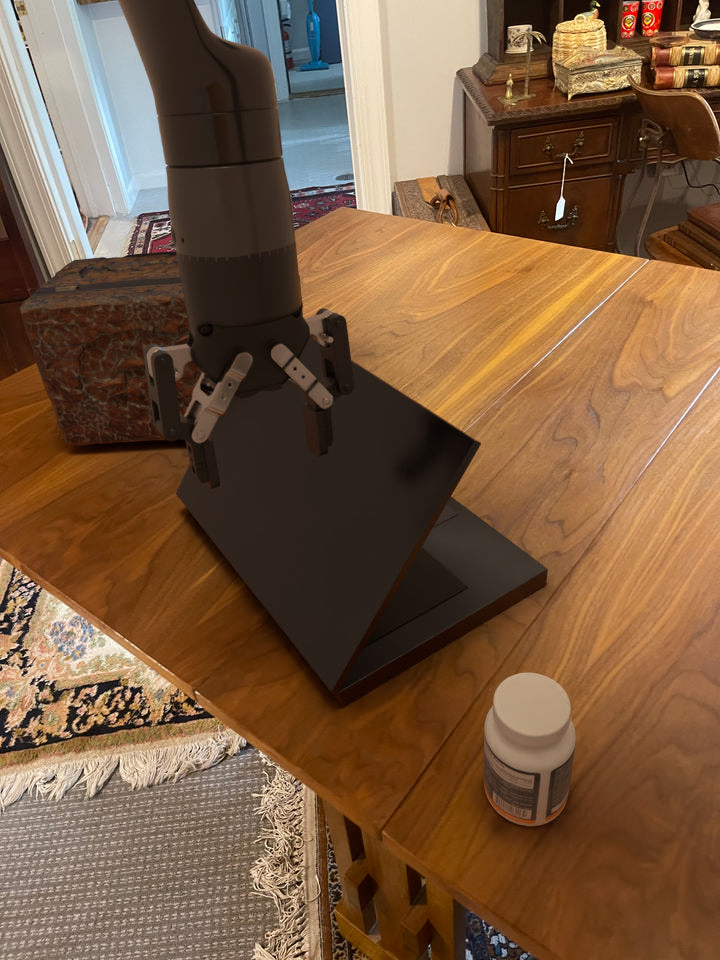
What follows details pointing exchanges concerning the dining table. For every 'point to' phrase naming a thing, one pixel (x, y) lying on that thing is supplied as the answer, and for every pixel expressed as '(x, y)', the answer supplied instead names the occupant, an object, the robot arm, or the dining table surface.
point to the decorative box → (108, 343)
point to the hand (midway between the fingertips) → (266, 467)
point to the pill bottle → (528, 749)
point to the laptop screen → (328, 506)
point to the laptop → (441, 597)
